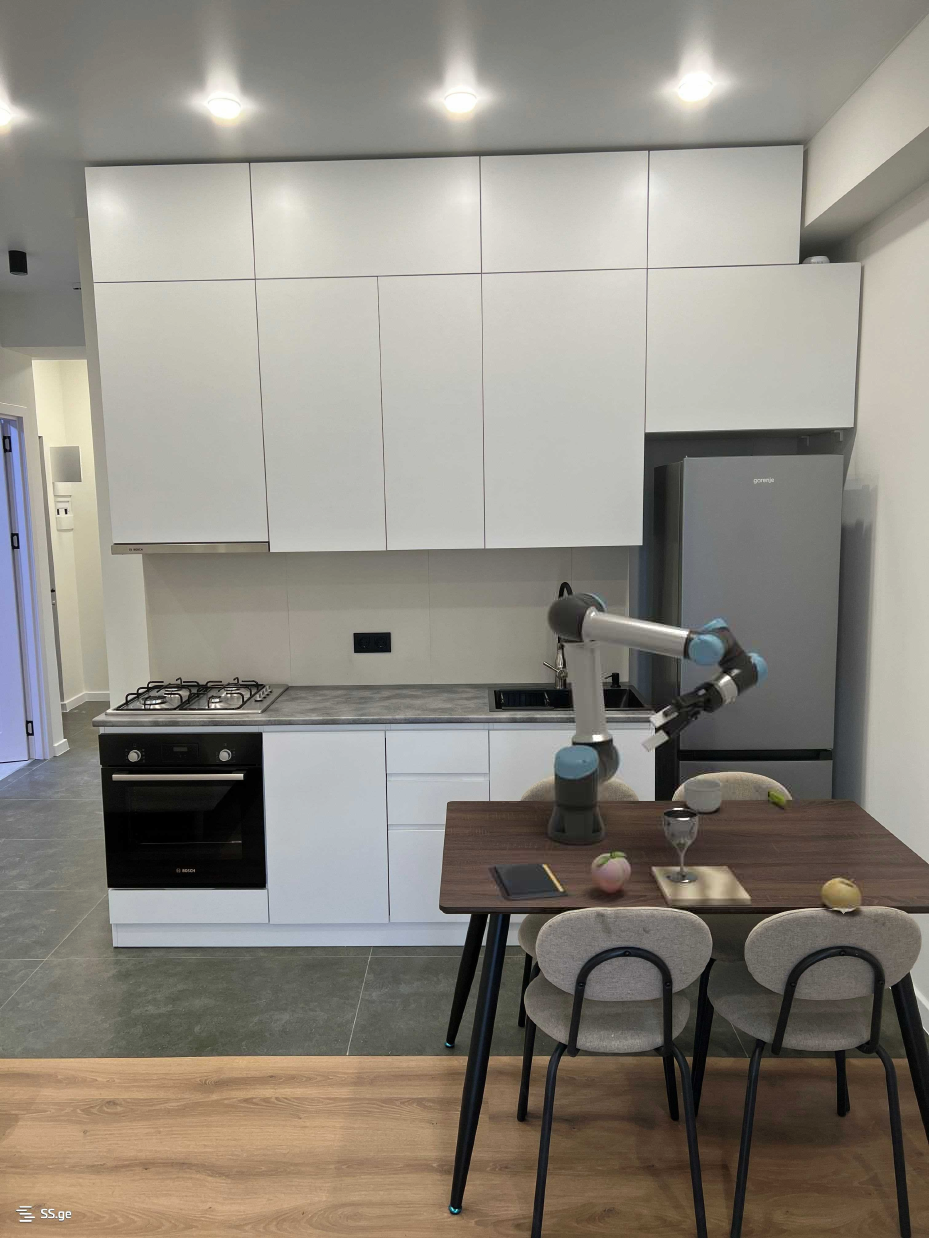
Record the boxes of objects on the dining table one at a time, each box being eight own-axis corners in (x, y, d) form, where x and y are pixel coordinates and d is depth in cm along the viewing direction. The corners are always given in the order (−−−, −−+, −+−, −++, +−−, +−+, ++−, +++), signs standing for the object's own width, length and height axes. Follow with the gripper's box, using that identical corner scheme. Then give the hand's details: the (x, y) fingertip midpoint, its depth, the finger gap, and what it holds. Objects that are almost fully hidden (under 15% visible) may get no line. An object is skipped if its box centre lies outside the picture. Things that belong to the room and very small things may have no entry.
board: (668, 905, 191) (669, 898, 191) (651, 872, 209) (651, 866, 209) (750, 904, 191) (750, 898, 191) (726, 872, 209) (726, 866, 209)
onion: (821, 913, 187) (822, 881, 186) (820, 898, 194) (821, 867, 193) (862, 918, 184) (863, 886, 183) (859, 903, 191) (860, 872, 191)
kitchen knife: (749, 790, 275) (749, 781, 275) (753, 790, 276) (753, 781, 275) (782, 808, 253) (782, 798, 253) (786, 808, 253) (786, 798, 253)
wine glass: (703, 882, 199) (701, 818, 198) (668, 883, 199) (666, 819, 198) (695, 869, 207) (693, 807, 205) (661, 870, 207) (659, 808, 206)
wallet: (488, 862, 214) (548, 858, 216) (488, 869, 214) (548, 865, 216) (503, 896, 194) (569, 891, 196) (503, 904, 194) (569, 899, 196)
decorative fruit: (607, 881, 204) (607, 840, 203) (636, 891, 198) (636, 849, 197) (582, 893, 198) (582, 851, 197) (611, 904, 192) (611, 860, 191)
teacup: (723, 816, 249) (723, 789, 248) (684, 814, 251) (684, 787, 250) (719, 801, 262) (719, 775, 262) (682, 799, 265) (682, 773, 264)
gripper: (735, 680, 208) (667, 724, 202) (714, 726, 228) (651, 767, 223) (714, 657, 211) (646, 700, 205) (695, 705, 232) (632, 745, 226)
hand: (648, 735), depth 214 cm, fingers open, 13 cm apart
